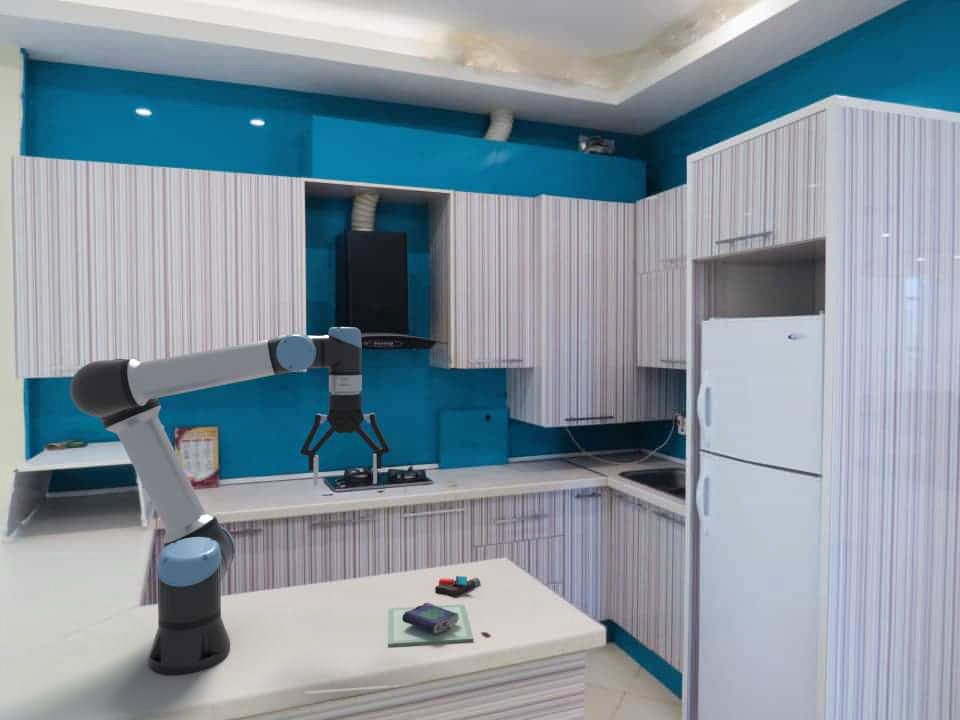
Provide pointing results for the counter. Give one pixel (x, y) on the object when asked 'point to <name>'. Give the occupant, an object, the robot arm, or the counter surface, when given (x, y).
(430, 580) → the counter surface
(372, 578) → the counter surface
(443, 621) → the blue clover box
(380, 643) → the counter surface
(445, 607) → the mat
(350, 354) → the robot arm
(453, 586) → the toy gun
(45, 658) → the counter surface
